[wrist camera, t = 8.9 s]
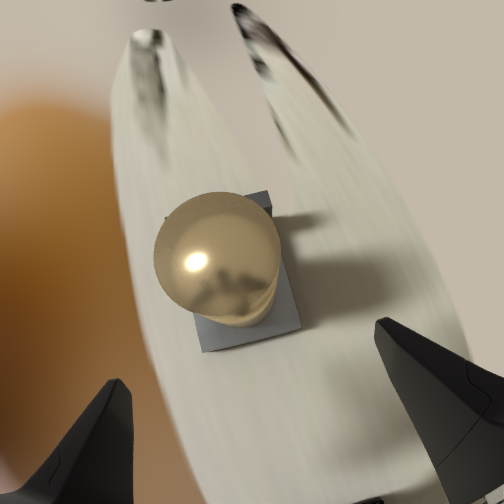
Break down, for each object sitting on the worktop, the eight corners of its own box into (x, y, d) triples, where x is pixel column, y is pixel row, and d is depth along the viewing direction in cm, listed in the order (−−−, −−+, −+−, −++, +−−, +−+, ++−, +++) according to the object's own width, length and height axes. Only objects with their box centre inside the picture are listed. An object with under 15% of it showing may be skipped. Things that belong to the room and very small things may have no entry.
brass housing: (282, 318, 20) (297, 296, 10) (214, 335, 20) (165, 328, 10) (264, 252, 21) (261, 179, 12) (199, 269, 21) (147, 210, 12)
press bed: (299, 328, 21) (307, 326, 17) (206, 351, 21) (191, 354, 16) (267, 217, 24) (267, 190, 19) (182, 239, 23) (164, 217, 19)
